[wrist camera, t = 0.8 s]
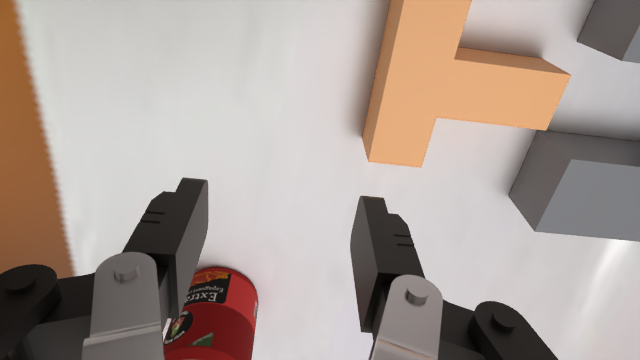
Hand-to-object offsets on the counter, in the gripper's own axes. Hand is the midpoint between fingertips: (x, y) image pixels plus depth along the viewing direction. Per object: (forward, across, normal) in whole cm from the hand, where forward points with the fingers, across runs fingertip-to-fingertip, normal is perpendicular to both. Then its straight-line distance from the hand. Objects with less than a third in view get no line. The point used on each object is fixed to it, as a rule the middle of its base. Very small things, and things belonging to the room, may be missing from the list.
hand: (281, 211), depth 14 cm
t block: (+19, -12, 0) cm, 23 cm away
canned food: (+20, +5, +25) cm, 32 cm away
